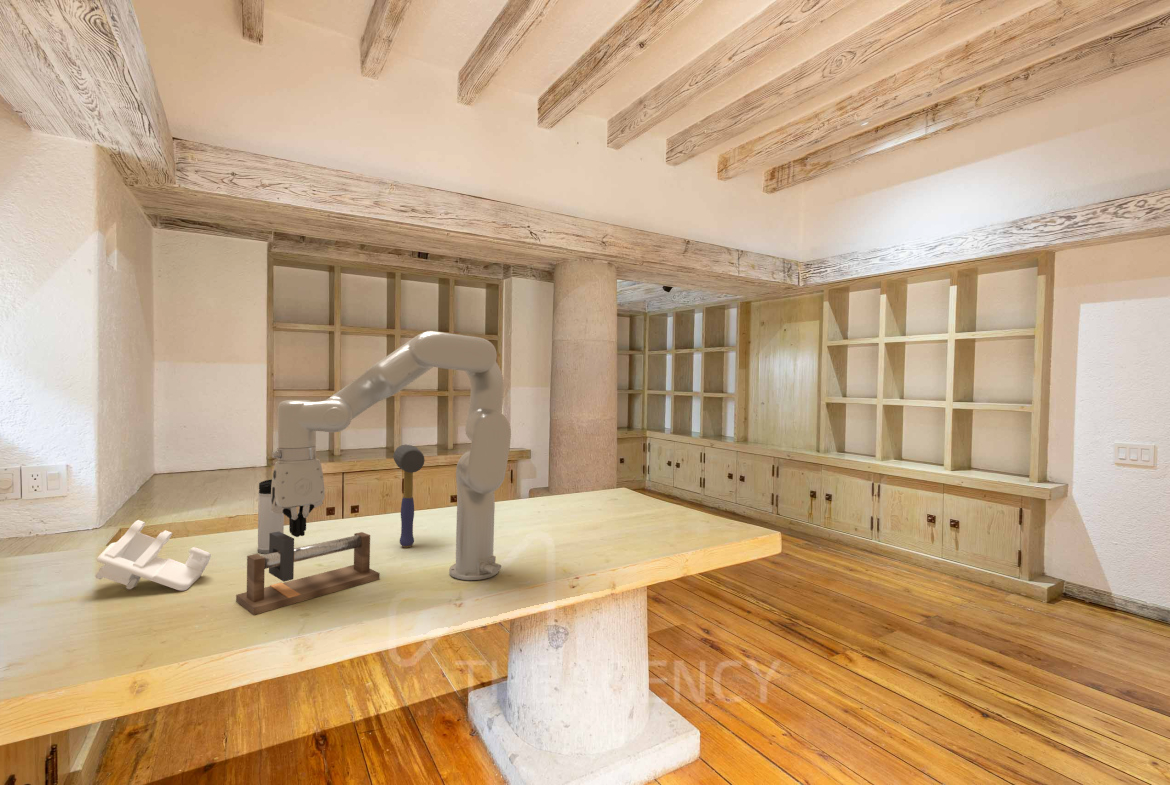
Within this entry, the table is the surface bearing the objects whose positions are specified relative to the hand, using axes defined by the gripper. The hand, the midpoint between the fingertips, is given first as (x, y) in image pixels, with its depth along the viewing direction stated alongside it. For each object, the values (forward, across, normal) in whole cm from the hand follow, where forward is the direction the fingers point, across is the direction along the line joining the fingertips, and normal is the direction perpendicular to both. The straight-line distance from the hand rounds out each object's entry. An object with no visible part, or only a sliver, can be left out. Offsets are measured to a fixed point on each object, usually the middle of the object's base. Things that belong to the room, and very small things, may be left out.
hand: (297, 535), depth 122 cm
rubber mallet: (+14, +36, +13) cm, 41 cm away
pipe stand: (+14, +3, 0) cm, 14 cm away
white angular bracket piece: (+13, -20, +28) cm, 37 cm away
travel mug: (+13, +8, +37) cm, 41 cm away
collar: (+8, -3, 0) cm, 9 cm away
